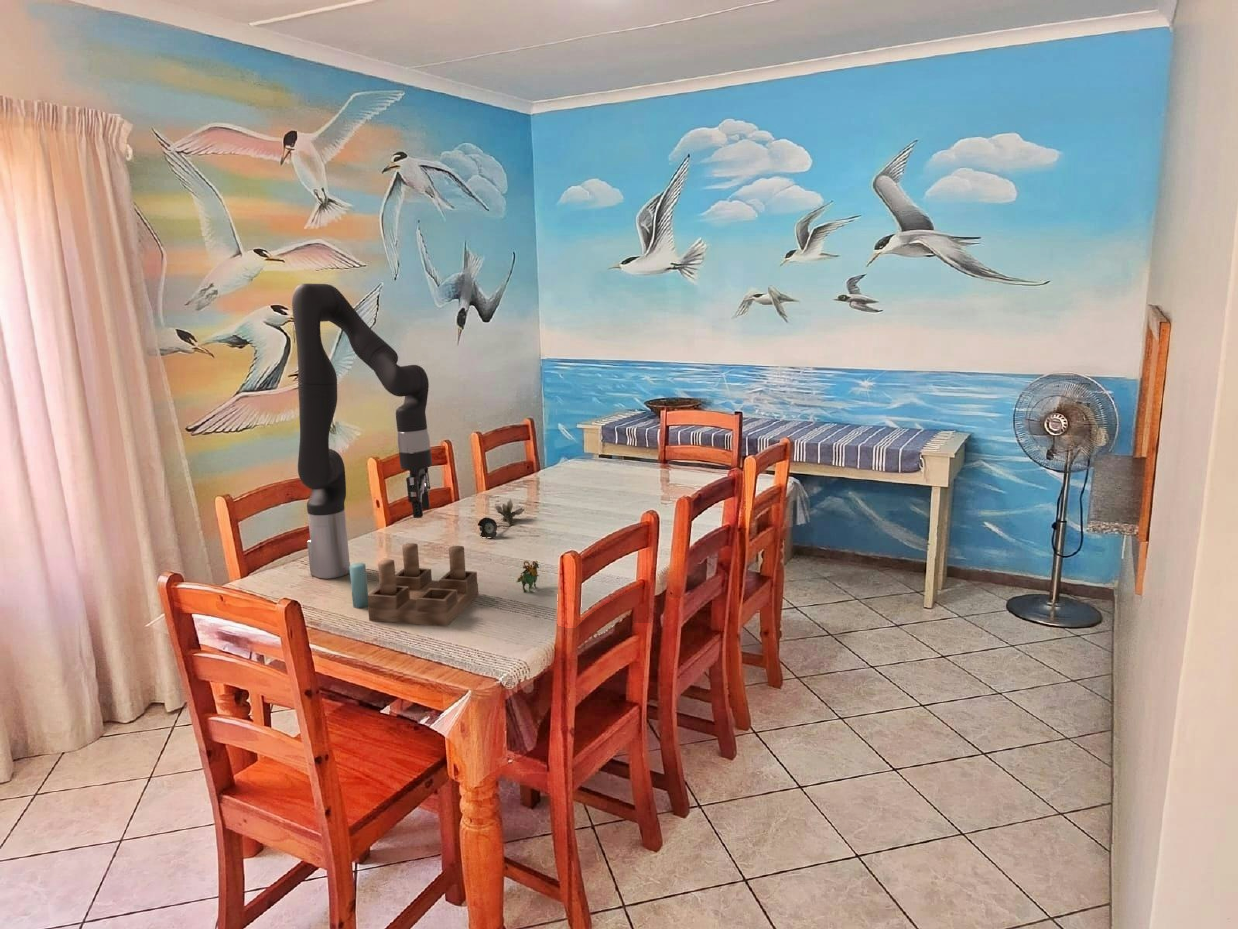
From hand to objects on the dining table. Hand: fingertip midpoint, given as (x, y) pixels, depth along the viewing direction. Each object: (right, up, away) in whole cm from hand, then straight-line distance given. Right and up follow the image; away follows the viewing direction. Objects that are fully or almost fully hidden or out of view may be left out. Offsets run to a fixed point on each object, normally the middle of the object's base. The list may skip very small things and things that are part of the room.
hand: (421, 513), depth 201 cm
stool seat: (+3, -22, -7) cm, 23 cm away
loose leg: (-13, -22, -5) cm, 26 cm away
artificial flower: (+12, -8, +54) cm, 56 cm away
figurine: (+26, -20, +1) cm, 33 cm away
